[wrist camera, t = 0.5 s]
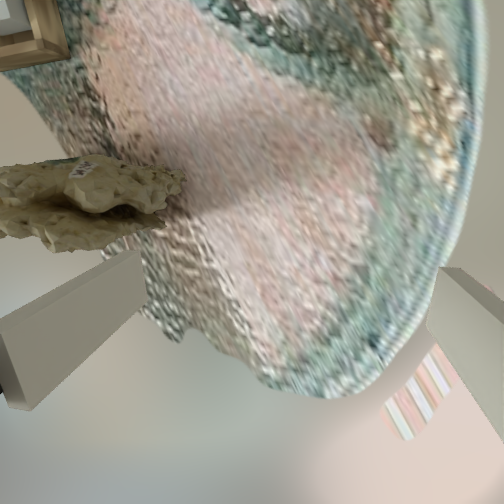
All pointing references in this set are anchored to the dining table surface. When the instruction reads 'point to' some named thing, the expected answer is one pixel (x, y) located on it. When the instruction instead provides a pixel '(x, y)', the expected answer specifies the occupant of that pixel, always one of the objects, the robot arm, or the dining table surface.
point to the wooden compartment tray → (35, 38)
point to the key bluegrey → (13, 17)
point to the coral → (83, 200)
